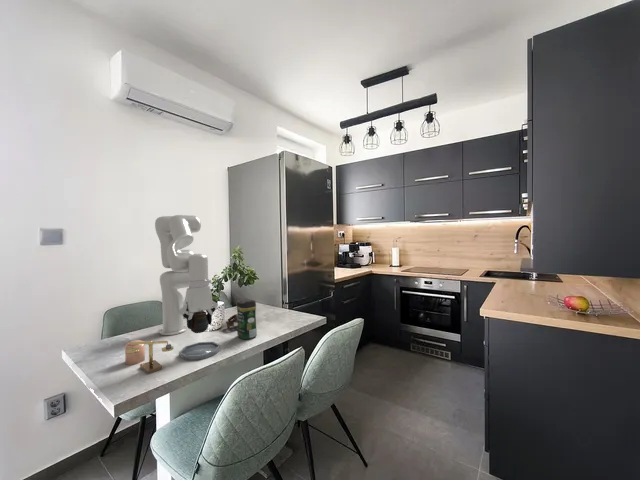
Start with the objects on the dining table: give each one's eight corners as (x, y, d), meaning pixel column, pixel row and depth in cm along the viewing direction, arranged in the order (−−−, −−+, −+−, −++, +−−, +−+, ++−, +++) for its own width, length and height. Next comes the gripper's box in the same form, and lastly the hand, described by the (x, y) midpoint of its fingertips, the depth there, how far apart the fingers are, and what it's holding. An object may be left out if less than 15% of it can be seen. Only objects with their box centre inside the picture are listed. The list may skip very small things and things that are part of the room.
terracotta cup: (122, 361, 109) (122, 342, 109) (141, 356, 114) (141, 337, 114) (128, 366, 105) (128, 346, 105) (147, 360, 110) (147, 341, 110)
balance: (123, 372, 100) (122, 341, 100) (169, 358, 112) (168, 330, 112) (129, 380, 95) (128, 346, 95) (177, 364, 107) (176, 334, 107)
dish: (174, 353, 117) (174, 349, 117) (208, 343, 128) (208, 339, 128) (189, 363, 107) (189, 359, 107) (225, 351, 118) (225, 347, 118)
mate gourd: (203, 327, 122) (203, 304, 122) (212, 331, 118) (212, 307, 117) (186, 331, 117) (186, 308, 117) (195, 335, 112) (195, 311, 112)
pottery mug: (244, 331, 145) (236, 319, 143) (229, 339, 146) (221, 326, 144) (251, 319, 156) (243, 307, 154) (237, 326, 158) (229, 314, 156)
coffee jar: (234, 336, 136) (234, 298, 136) (249, 332, 142) (248, 295, 142) (244, 341, 129) (243, 301, 129) (259, 337, 135) (258, 298, 134)
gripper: (214, 280, 126) (215, 320, 126) (173, 286, 113) (174, 329, 113) (222, 282, 121) (223, 322, 121) (181, 288, 108) (182, 333, 108)
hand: (199, 326), depth 117 cm, fingers closed on mate gourd, 7 cm apart
